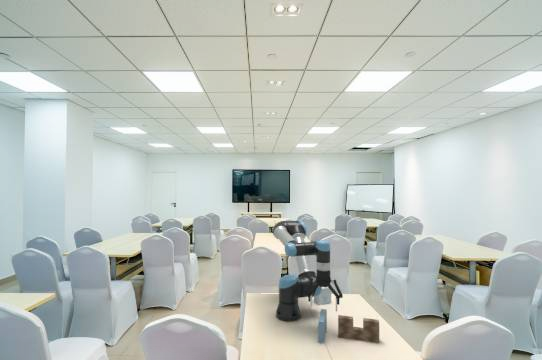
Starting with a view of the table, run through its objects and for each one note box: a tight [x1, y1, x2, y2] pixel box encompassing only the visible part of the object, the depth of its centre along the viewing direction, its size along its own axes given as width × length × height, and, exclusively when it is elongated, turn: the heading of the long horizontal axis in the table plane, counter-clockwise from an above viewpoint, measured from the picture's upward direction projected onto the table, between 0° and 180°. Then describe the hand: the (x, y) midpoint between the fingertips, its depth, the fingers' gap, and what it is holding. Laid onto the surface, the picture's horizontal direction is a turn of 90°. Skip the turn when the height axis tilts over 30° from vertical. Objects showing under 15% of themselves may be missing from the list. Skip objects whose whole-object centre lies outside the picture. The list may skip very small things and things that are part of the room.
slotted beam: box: [337, 314, 380, 344], centre depth 143 cm, size 20×3×10 cm, turn 74°
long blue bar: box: [317, 308, 328, 344], centre depth 146 cm, size 3×16×10 cm, turn 165°
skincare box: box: [313, 287, 332, 306], centre depth 190 cm, size 10×6×10 cm, turn 113°
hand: (323, 309), depth 152 cm, fingers open, 13 cm apart
